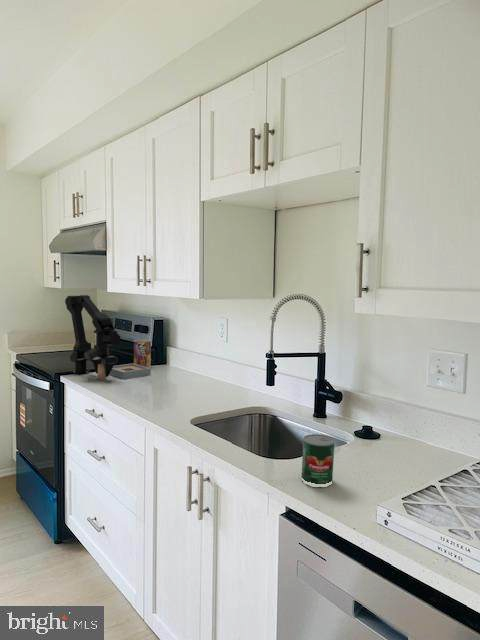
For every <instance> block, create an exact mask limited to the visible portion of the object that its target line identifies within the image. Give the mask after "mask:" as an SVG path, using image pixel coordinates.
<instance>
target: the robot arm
mask: <svg viewBox="0 0 480 640" xmlns="http://www.w3.org/2000/svg"><path fill="white" fill-rule="evenodd" d="M64 303H65V306H66V309H67V311H68V312H69V313H70V315H71V321H72V328H73V332H74V339H75V342H74V345H73V351H72V353H71V355H70V357H69V360H70V362H73V363H74V370H72V371H73V374H75V375H82V374H90V371H88V370H87V362H88V361H90V362H91V363H92V364H93V367H94V370H95V374H97V375H98V364H103V365H104V367H105V376H106V378H107V377H108V378H109V376H110V375H109V374H110V372H111V370H112V368H113V366H116V364H117V363H118V361H119V359H118V357H117V356H115V355H111V353H109V348H111V346H118V345H119V344H120V343H121V339H122V338H121V336H120V334H119V333H118V331H117V330H115V326H114V325H113V322H112V320H111V318H110V317H109V316H108V315H107V314H106V313H104V312H102V311H100V309H99V308H98V307H97V306H96V304H95V303H94V302H93V300H92V299H91V297H90V295H88V294H81V295H67V296H66V298H65V300H64ZM83 309H84V310H85V311H86V312H87V314H88V315H89V316H90V317H91V324H92V325H93V327H94V328H95V330H93V333H94V334H95V344H94V345H93V348H92V343H91V342H89V341H88V340H87V338H86V332H85V326H84V320H83V314H82V313H83V312H82V311H83Z"/></svg>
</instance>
